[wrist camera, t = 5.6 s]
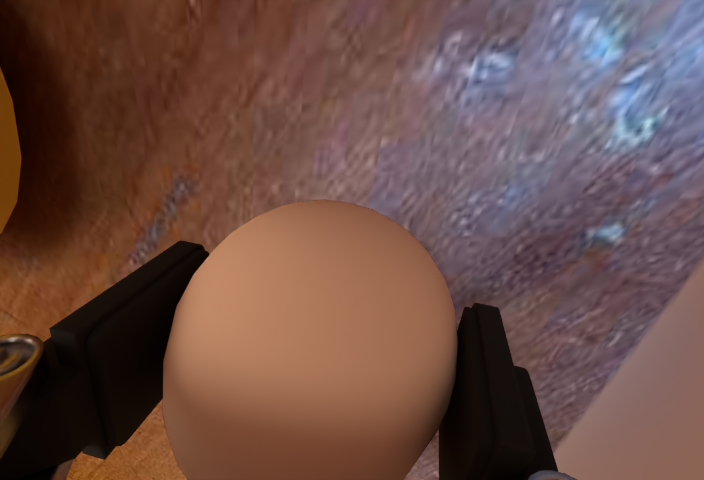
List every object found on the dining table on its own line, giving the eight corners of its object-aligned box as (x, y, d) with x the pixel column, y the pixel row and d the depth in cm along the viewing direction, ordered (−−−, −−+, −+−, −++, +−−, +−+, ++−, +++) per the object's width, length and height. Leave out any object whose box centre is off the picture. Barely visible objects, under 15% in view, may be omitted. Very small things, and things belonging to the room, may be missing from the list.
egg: (425, 365, 14) (414, 673, 7) (253, 321, 15) (84, 557, 8) (478, 193, 11) (553, 417, 4) (261, 150, 12) (3, 272, 5)
